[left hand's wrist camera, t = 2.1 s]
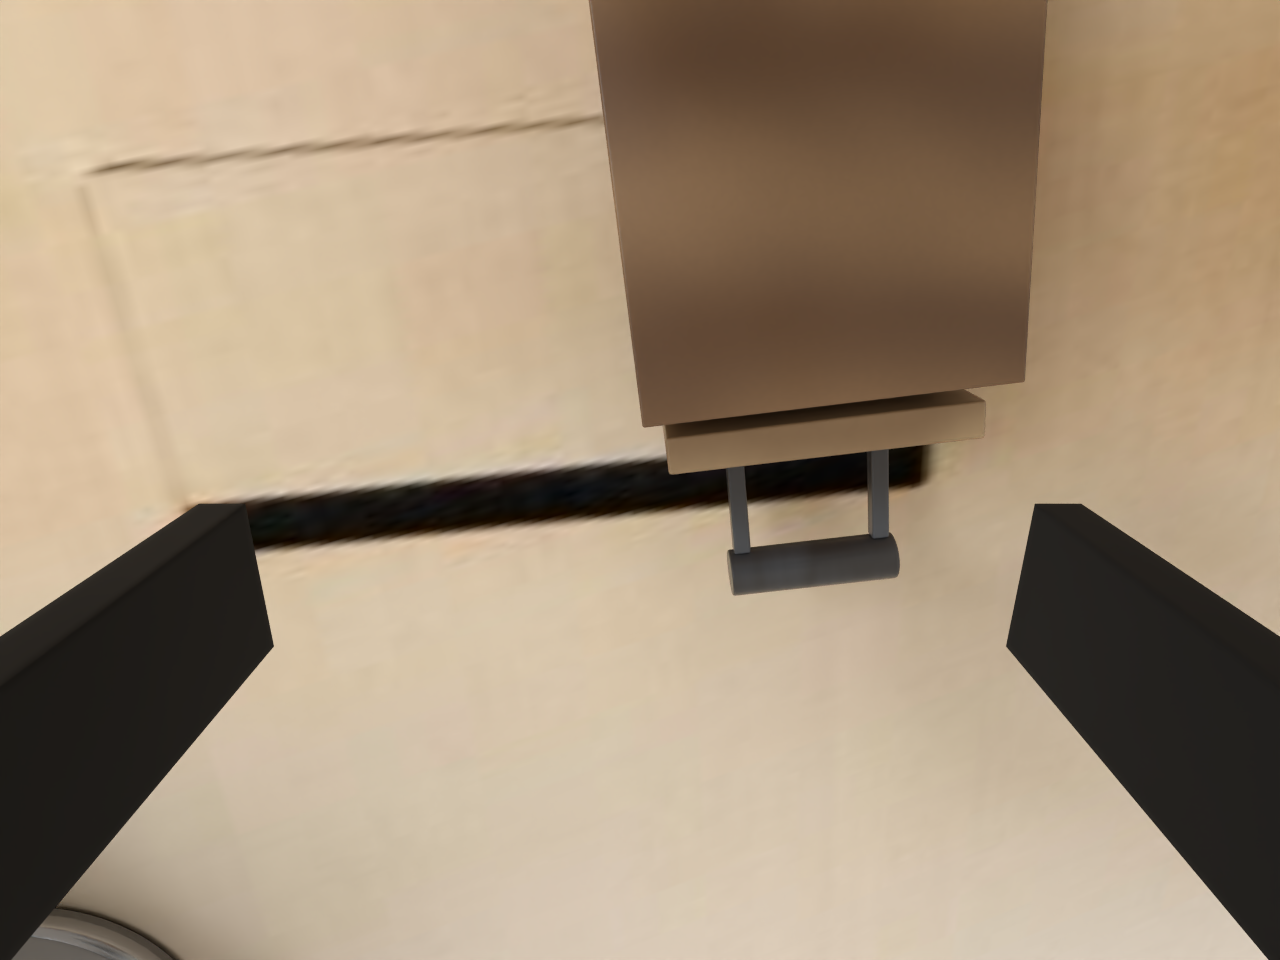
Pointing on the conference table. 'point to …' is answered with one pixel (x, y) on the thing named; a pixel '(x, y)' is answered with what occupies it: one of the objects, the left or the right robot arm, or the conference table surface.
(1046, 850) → the conference table surface
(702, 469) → the drawer
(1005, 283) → the cabinet
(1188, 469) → the conference table surface
